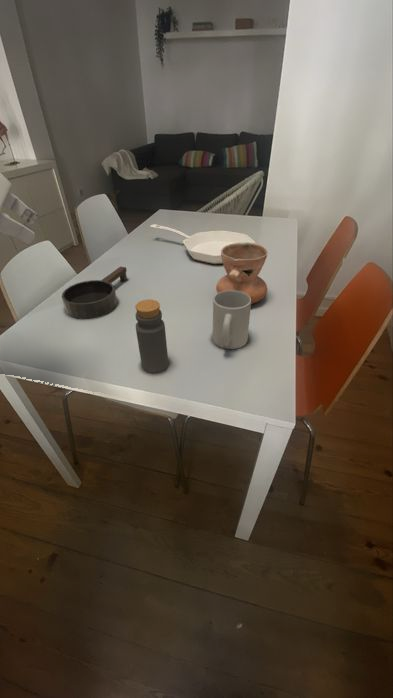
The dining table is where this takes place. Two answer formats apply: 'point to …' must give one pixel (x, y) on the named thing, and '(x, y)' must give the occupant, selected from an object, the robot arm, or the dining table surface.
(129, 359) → the dining table surface
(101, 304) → the dark low round container
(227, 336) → the mug
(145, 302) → the bottle
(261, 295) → the ceramic jug
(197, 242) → the pan
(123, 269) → the dark brown rectangular block
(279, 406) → the dining table surface
